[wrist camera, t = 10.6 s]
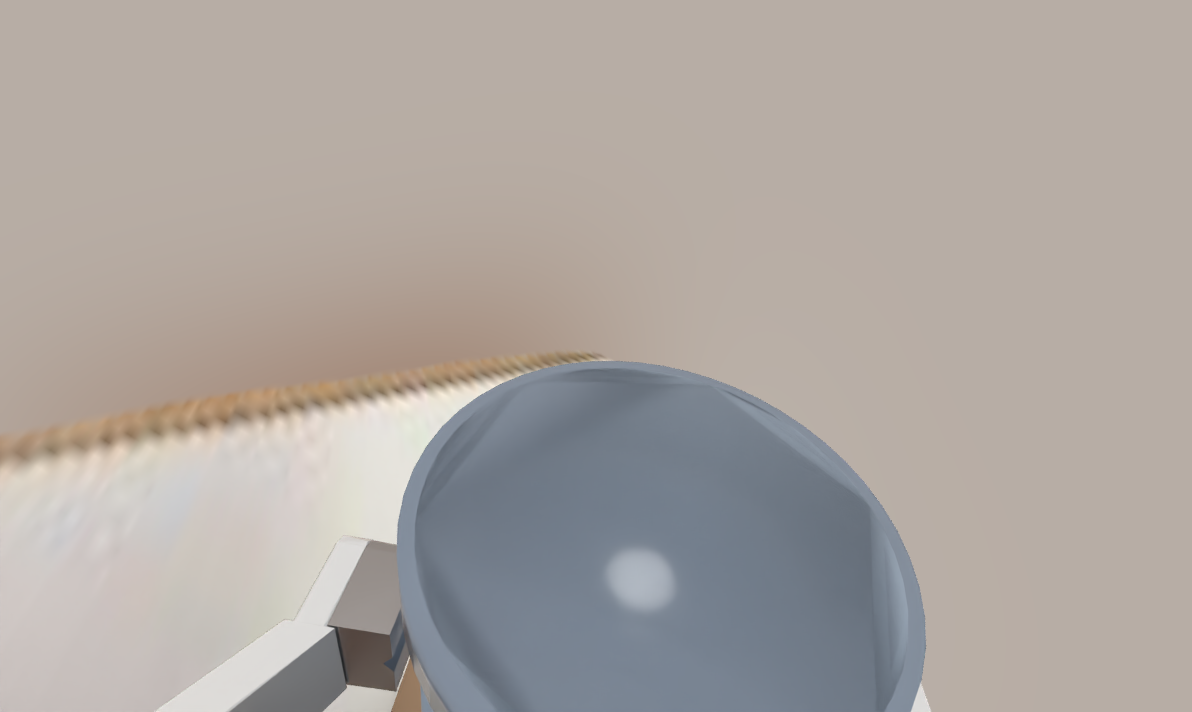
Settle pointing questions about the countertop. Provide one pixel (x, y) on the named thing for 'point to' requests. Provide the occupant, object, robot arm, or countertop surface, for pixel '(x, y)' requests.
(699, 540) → the canister
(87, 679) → the countertop surface
